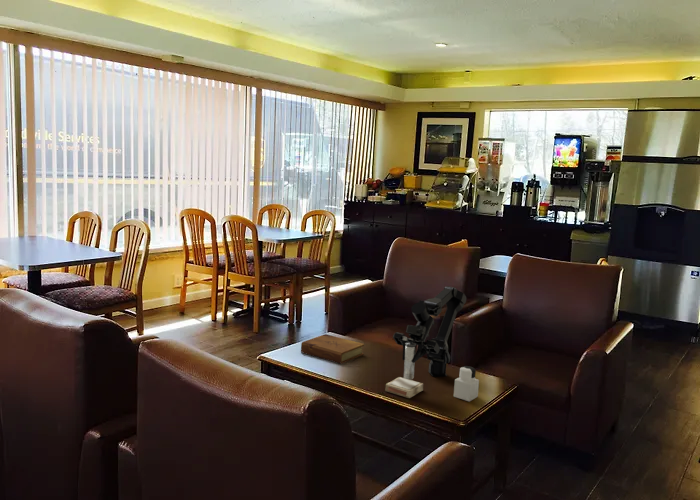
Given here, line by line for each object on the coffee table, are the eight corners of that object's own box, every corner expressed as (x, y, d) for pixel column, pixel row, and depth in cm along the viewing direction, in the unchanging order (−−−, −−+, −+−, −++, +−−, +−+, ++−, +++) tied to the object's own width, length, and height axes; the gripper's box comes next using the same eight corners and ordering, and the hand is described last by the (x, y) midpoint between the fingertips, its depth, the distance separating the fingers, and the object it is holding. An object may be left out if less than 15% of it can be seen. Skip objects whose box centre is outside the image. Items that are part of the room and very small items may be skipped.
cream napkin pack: (399, 383, 237) (399, 376, 237) (422, 390, 231) (423, 382, 230) (384, 391, 228) (385, 383, 227) (409, 398, 222) (409, 390, 221)
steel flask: (414, 376, 228) (416, 342, 226) (413, 379, 224) (415, 345, 222) (403, 375, 229) (405, 341, 227) (403, 378, 225) (405, 344, 223)
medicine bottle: (461, 391, 231) (464, 363, 230) (477, 396, 227) (480, 367, 225) (453, 396, 226) (455, 367, 224) (469, 402, 221) (471, 372, 220)
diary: (300, 354, 270) (301, 342, 269) (325, 345, 285) (325, 334, 284) (340, 365, 257) (340, 352, 256) (363, 355, 272) (364, 343, 271)
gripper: (396, 312, 232) (380, 345, 224) (438, 321, 221) (423, 356, 214) (404, 327, 239) (389, 359, 232) (445, 336, 229) (431, 370, 222)
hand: (407, 361), depth 225 cm, fingers closed on steel flask, 4 cm apart
